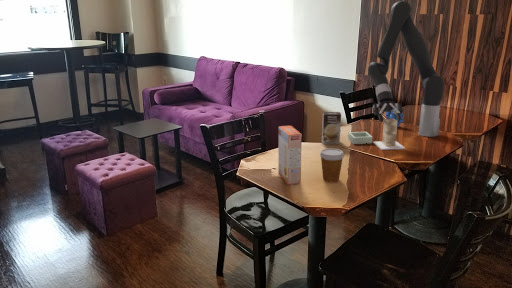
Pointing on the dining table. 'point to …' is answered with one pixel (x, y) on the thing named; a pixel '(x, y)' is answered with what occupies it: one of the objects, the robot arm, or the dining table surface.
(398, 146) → the grey mat
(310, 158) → the dining table surface
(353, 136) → the sage holder
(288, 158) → the cracker box
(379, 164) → the dining table surface
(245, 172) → the dining table surface
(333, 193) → the dining table surface
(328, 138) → the coffee box
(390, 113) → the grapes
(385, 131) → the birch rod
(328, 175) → the disposable coffee cup
